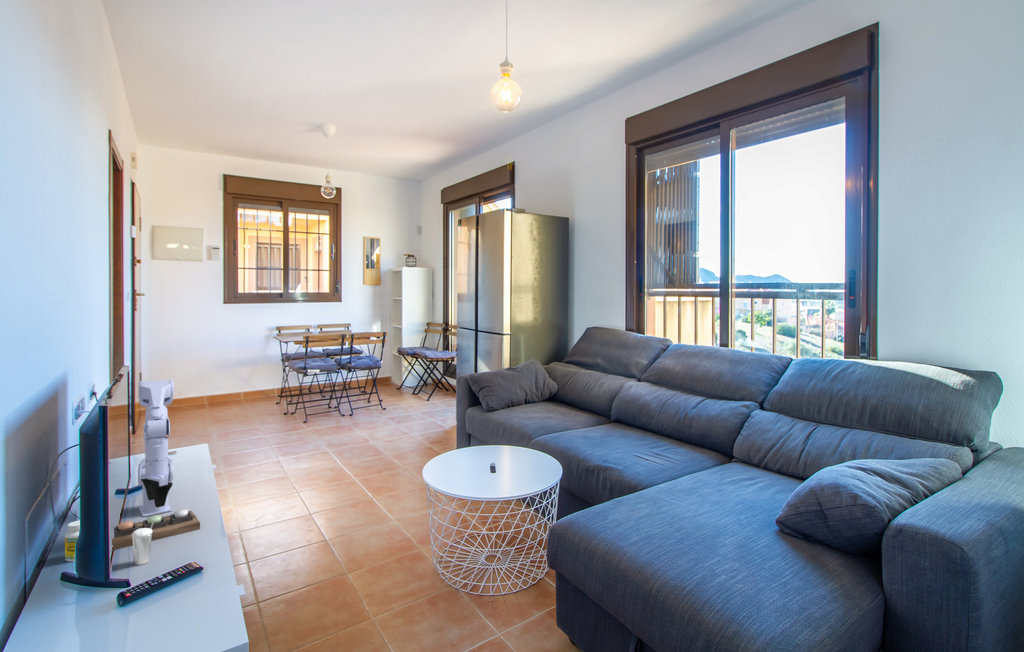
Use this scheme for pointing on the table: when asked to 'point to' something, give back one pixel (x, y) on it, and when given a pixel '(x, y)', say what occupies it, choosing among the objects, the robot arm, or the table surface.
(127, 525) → the terracotta button
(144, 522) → the button board
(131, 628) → the table surface
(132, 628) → the table surface
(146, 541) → the milkshake
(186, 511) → the grey button
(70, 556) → the supplement bottle
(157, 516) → the sage button
